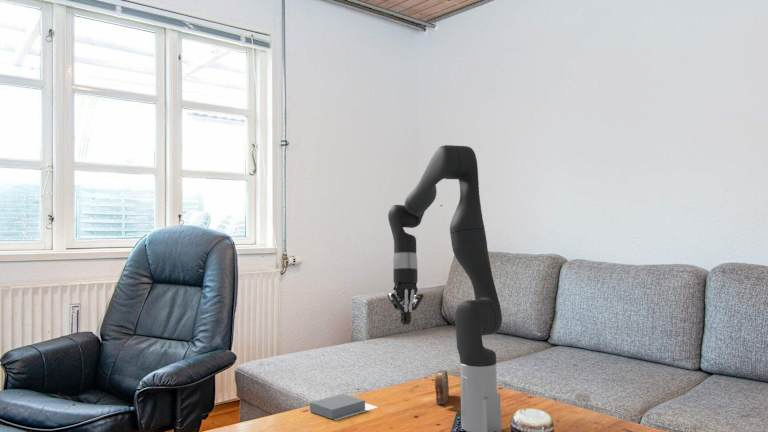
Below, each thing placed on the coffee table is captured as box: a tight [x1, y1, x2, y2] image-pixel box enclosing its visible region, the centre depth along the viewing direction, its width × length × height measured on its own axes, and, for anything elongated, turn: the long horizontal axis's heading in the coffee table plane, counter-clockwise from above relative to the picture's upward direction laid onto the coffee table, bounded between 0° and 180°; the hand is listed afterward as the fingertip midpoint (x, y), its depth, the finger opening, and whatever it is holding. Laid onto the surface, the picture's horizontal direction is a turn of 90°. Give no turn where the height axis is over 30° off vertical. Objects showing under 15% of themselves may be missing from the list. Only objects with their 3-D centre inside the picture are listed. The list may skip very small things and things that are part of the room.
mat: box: [332, 402, 379, 421], centre depth 160 cm, size 12×16×1 cm
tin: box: [434, 370, 450, 405], centre depth 169 cm, size 15×3×8 cm, turn 168°
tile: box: [309, 393, 366, 420], centre depth 158 cm, size 10×3×12 cm
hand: (405, 324), depth 171 cm, fingers closed
